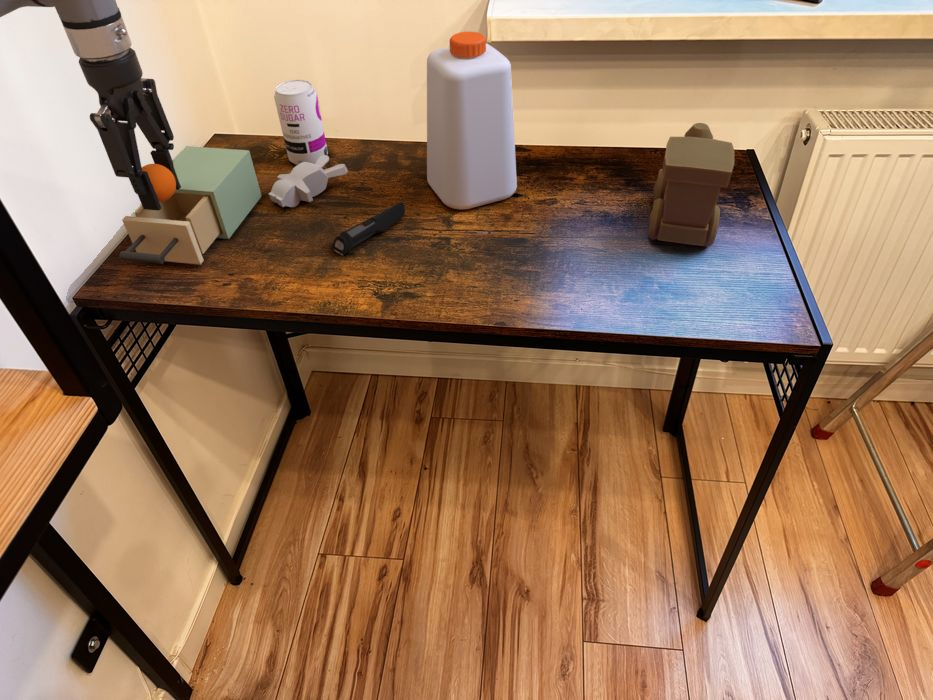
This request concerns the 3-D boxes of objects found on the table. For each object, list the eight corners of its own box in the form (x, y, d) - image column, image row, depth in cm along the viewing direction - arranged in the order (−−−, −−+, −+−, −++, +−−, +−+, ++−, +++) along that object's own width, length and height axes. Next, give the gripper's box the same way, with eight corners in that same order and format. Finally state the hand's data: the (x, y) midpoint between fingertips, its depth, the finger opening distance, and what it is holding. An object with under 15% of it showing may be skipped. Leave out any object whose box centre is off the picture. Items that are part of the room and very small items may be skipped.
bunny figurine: (256, 181, 125) (318, 143, 132) (265, 203, 129) (324, 165, 136) (286, 198, 121) (348, 158, 127) (295, 221, 125) (355, 181, 131)
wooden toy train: (713, 262, 110) (738, 171, 99) (642, 252, 113) (659, 163, 101) (715, 199, 124) (738, 113, 112) (652, 192, 126) (668, 106, 115)
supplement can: (324, 145, 143) (311, 75, 133) (331, 163, 138) (318, 91, 127) (286, 152, 142) (270, 82, 131) (291, 170, 136) (275, 98, 126)
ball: (135, 207, 108) (121, 174, 104) (154, 188, 112) (142, 155, 108) (169, 210, 107) (156, 177, 103) (187, 191, 111) (176, 158, 107)
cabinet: (228, 239, 119) (213, 191, 112) (164, 233, 121) (145, 186, 114) (261, 196, 129) (249, 150, 123) (202, 191, 131) (186, 145, 125)
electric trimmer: (411, 220, 122) (410, 205, 120) (345, 257, 114) (342, 242, 112) (397, 212, 124) (395, 197, 122) (331, 249, 116) (328, 233, 114)
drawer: (182, 287, 108) (166, 247, 102) (119, 281, 110) (99, 241, 104) (235, 220, 122) (223, 182, 116) (178, 215, 124) (163, 177, 118)
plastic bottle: (490, 162, 136) (490, 16, 117) (524, 197, 126) (529, 44, 107) (421, 179, 132) (408, 30, 113) (450, 216, 122) (442, 61, 103)
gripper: (90, 81, 86) (154, 232, 102) (164, 30, 99) (210, 171, 115) (39, 78, 87) (110, 228, 103) (118, 28, 100) (170, 168, 116)
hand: (162, 197), depth 109 cm, fingers closed on ball, 6 cm apart
